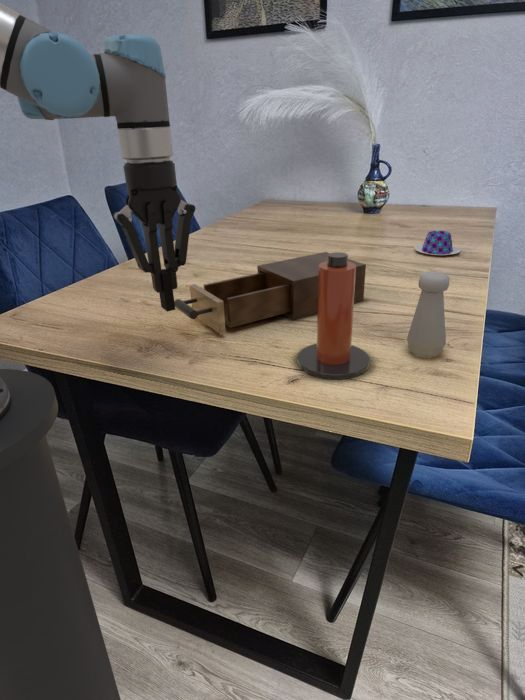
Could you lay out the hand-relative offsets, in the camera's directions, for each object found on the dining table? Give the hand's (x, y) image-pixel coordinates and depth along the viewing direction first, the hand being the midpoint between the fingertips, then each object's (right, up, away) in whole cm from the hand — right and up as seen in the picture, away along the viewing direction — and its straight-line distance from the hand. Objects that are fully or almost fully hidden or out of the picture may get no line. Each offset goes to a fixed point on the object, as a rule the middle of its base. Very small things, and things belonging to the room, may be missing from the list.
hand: (168, 308), depth 80 cm
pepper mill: (+27, -8, -8) cm, 29 cm away
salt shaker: (+42, -8, -6) cm, 43 cm away
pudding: (+64, +20, +49) cm, 83 cm away
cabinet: (+26, +3, +17) cm, 31 cm away
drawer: (+11, -1, +8) cm, 14 cm away
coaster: (+27, -9, -8) cm, 30 cm away
